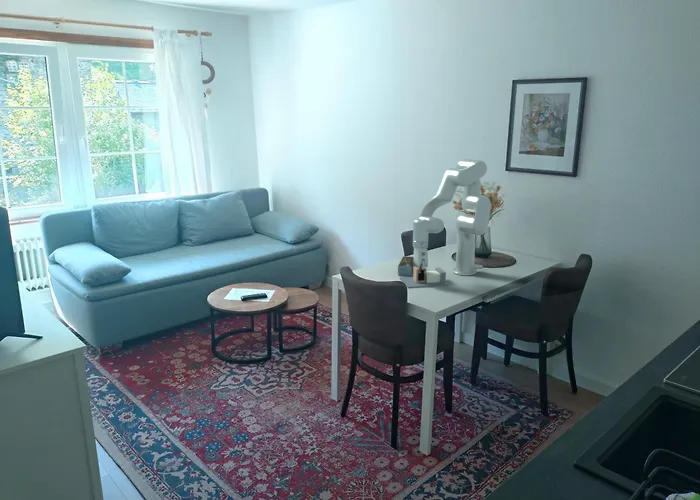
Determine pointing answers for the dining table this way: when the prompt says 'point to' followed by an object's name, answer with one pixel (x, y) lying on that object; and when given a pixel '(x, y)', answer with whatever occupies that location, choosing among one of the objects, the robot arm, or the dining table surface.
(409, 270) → the beverage carton
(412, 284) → the mat
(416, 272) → the tan rectangular block
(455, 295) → the dining table surface
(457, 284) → the dining table surface
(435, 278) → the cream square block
